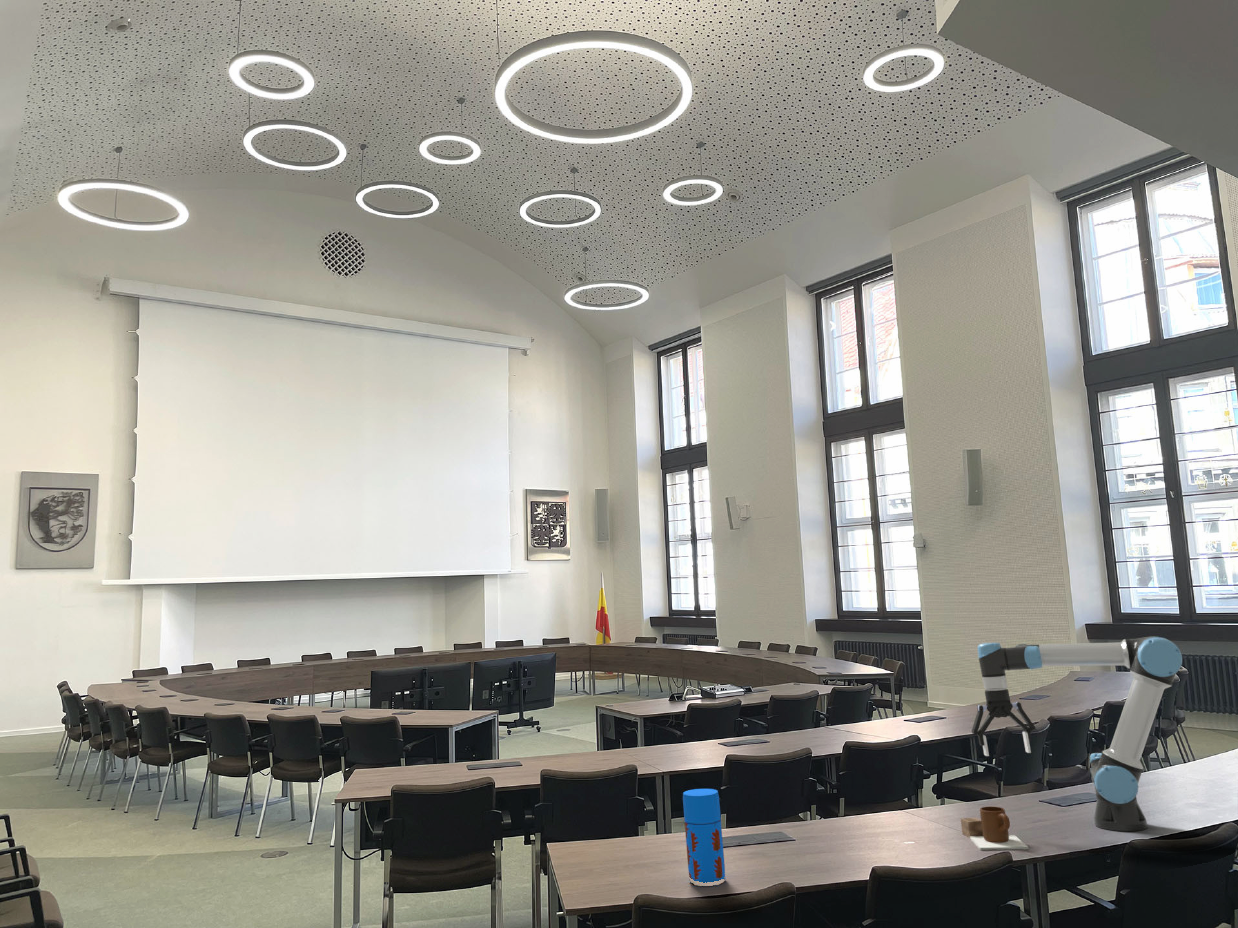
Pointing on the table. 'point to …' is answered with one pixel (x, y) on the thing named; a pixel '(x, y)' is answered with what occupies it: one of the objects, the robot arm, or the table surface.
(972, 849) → the table surface
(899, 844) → the table surface
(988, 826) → the mug
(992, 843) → the felt mat
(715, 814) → the thermos
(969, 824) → the walnut block
